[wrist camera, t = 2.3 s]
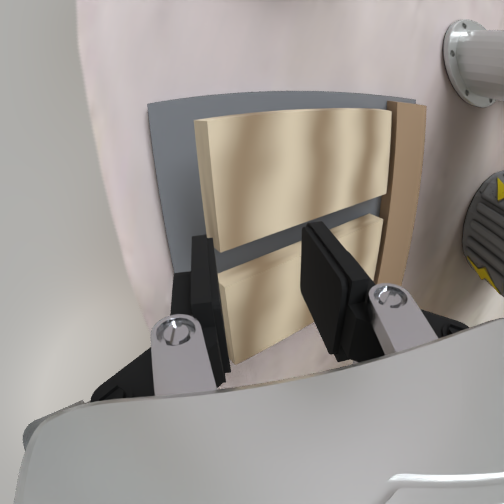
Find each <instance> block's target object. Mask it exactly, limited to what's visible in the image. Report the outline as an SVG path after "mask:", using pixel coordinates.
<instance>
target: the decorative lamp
mask: <svg viewBox="0 0 504 504" xmlns="http://www.w3.org/2000/svg"><path fill="white" fill-rule="evenodd" d="M462 243H463V249H464V254H465V256H466V258H467V261H468V263H469V264H470V266H471V267H472V268H473V269H474V270H475V271H476V272H477V273H478V275H479V276H480V278H481V280H483V279H485V280H486V281H487V282H488V283H489V284H490V285H491V286H492V287H493V288H495V289H496V291H497V292H498V293H499V294H500V295H502V296H503V297H504V170H503V171H500V172H497V173H494V174H493V175H492V176H491V177H490V178H489V179H487V180H486V181H485V182H484V183H483V184H482V186H481V187H480V189H479V190H478V191H477V193H476V194H475V196H474V198H473V200H472V203H471V205H470V207H469V209H468V212H467V216H466V219H465V223H464V229H463V240H462Z"/></svg>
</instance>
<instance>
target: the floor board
mask: <svg viewBox="0 0 504 504" xmlns="http://www.w3.org/2000/svg"><path fill="white" fill-rule="evenodd" d="M147 106H148V115H149V124H150V132H151V140H152V147H153V155H154V162H155V169H156V175H157V182H158V188H159V194H160V200H161V206H162V212H163V217H164V223H165V228H166V233H167V239H168V244H169V249H170V254H171V259H172V263H173V268H174V273H179V272H188V271H191V247H192V236H197V235H205V234H206V226H205V219H204V211H203V202H202V194H201V185H200V177H199V168H198V158H197V149H196V139H195V129H194V120H199V119H205V118H212V117H220V116H228V115H236V114H245V113H255V112H267V111H280V110H296V109H321V108H371V109H382V110H389V111H392V116H391V140H390V157H389V170H388V181H387V191H386V194H384V195H381V196H378V197H375V198H373V199H370V200H367V201H364V202H361V203H358V204H355V205H353V206H350V207H347V208H344V209H341V210H338V211H336V212H333V213H330V214H327V215H324V216H321V217H319V218H316V219H313V220H310V221H307V222H305V223H302V224H299V225H296V226H293V227H291V228H288V229H285V230H282V231H279V232H277V233H274V234H271V235H268V236H265V237H263V238H260V239H257V240H254V241H252V242H249V243H246V244H243V245H240V246H238V247H235V248H232V249H229V250H227V251H224V252H221V253H220V252H219V251H218V250H216V249H215V248H214V251H215V258H216V266H217V274H218V273H221V272H223V271H226V270H228V269H231V268H233V267H236V266H239V265H241V264H244V263H246V262H249V261H251V260H254V259H256V258H259V257H261V256H264V255H266V254H269V253H271V252H274V251H277V250H279V249H282V248H284V247H287V246H289V245H292V244H294V243H297V242H299V241H302V228H303V227H306V225H307V223H310V222H320V221H322V222H323V223H324V224H325V225H326V226H327V228H328V229H332V228H334V227H337V226H339V225H342V224H344V223H347V222H349V221H352V220H354V219H357V218H359V217H362V216H364V215H367V214H369V213H370V214H372V215H375V216H377V217H379V218H382V219H383V225H382V232H381V239H380V245H379V252H378V258H377V264H376V269H375V275H374V280H373V282H374V283H375V284H376V285H377V284H381V283H391V284H396V285H398V286H401V284H402V280H403V276H404V272H405V267H406V263H407V258H408V254H409V249H410V244H411V239H412V233H413V228H414V222H415V216H416V210H417V204H418V197H419V190H420V182H421V174H422V164H423V154H424V142H425V127H426V106H423V105H418V104H416V100H414V99H407V98H399V97H391V96H382V95H372V94H360V93H346V92H324V91H267V92H245V93H230V94H218V95H208V96H198V97H190V98H182V99H175V100H168V101H161V102H155V103H149V104H147Z"/></svg>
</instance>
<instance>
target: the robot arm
mask: <svg viewBox="0 0 504 504" xmlns="http://www.w3.org/2000/svg"><path fill="white" fill-rule="evenodd" d="M444 60H445V66H446V70H447V73H448V76H449V78H450V81H451V83H452V85H453V87H454V89H455V90H456V91H457V93H458V94H459V96H460V97H461V98H462V99H463V100H464V101H466V102H467V103H469V104H471V105H473V106H477V107H488V106H490V105H492V104H493V103H494V102H495V101H496V100H499V101H503V102H504V30H486V29H485V28H484V27H483V26H482V25H480V24H479V23H477V22H475V21H473V20H466V19H465V20H458V21H456V22H454V23H453V24H452V25H451V26H450V27H449V29H448V30H447V32H446V35H445V39H444ZM300 290H301V294H302V296H303V298H304V301H305V303H306V305H307V307H308V309H309V311H310V313H311V316H312V318H313V320H314V322H315V324H316V326H317V328H318V331H319V333H320V335H321V337H322V339H323V341H324V344H325V346H326V348H327V350H328V352H329V354H334V355H335V357H336V360H337V362H341V361H345V360H349V359H351V360H353V364H352V365H348V366H344V367H340V368H336V369H331V370H327V371H323V372H318V373H313V374H309V375H304V376H299V377H294V378H289V379H283V380H278V381H272V382H267V383H261V384H254V385H248V386H241V387H234V388H227V389H219V390H217V388H218V387H219V386H220V385H221V384H222V383H224V382H226V379H225V373H228V372H231V369H230V362H229V355H228V348H227V341H226V333H225V326H224V318H223V311H222V303H221V296H220V288H219V281H218V274H217V266H216V258H215V251H214V243H213V238H207V234H205V235H197V236H192V247H191V271H188V272H179V273H174V279H173V290H172V302H171V314H170V316H167V317H165V318H163V319H161V320H159V321H158V322H157V323H156V324H155V325H154V327H153V328H152V330H151V347H150V348H149V349H148V350H147V351H145V352H144V353H143V354H141V355H140V356H139V357H137V358H136V359H135V360H133V361H132V362H131V363H129V364H128V365H127V366H125V367H124V368H123V369H122V370H120V371H119V372H118V373H116V374H115V375H114V376H112V377H111V378H110V379H108V380H107V381H106V382H104V383H103V384H102V385H100V386H99V387H98V388H97V389H96V390H95V391H94V393H93V395H92V397H91V401H89V402H87V403H84V401H83V400H81V401H79V402H77V403H75V404H72V405H70V406H68V407H66V408H63V409H61V410H59V411H57V412H54V413H52V414H49V415H47V416H45V417H42V418H40V419H37V420H35V421H33V422H32V423H30V424H29V425H28V426H27V428H26V429H25V431H24V434H23V444H24V449H25V454H24V457H23V460H22V464H21V467H20V471H19V476H18V481H17V487H16V493H15V498H14V504H504V318H499V319H495V320H491V321H488V322H485V323H482V324H479V325H476V326H473V327H470V328H469V327H468V326H466V325H465V324H463V323H461V322H459V321H455V320H452V319H449V318H446V317H443V316H440V315H437V314H433V313H430V312H427V311H424V310H421V309H420V308H419V307H418V305H417V304H416V302H415V301H414V299H413V298H412V296H411V295H410V293H409V292H408V291H407V290H406V289H404V288H403V287H401V286H398V285H396V284H391V283H381V284H377V285H376V284H375V283H374V282H373V281H372V279H371V278H370V277H369V276H368V274H367V273H366V272H365V271H364V269H363V268H362V267H361V266H360V264H359V263H358V262H357V261H356V260H355V258H354V257H353V256H352V255H351V253H349V252H348V251H347V250H346V249H345V248H344V247H343V245H342V244H341V243H340V242H339V241H338V239H337V238H336V237H335V236H334V235H333V233H332V232H331V231H330V230H329V229H328V228H327V226H326V225H325V224H324V223H323V222H322V221H320V222H310V223H307V225H306V227H303V228H302V241H301V274H300Z"/></svg>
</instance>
